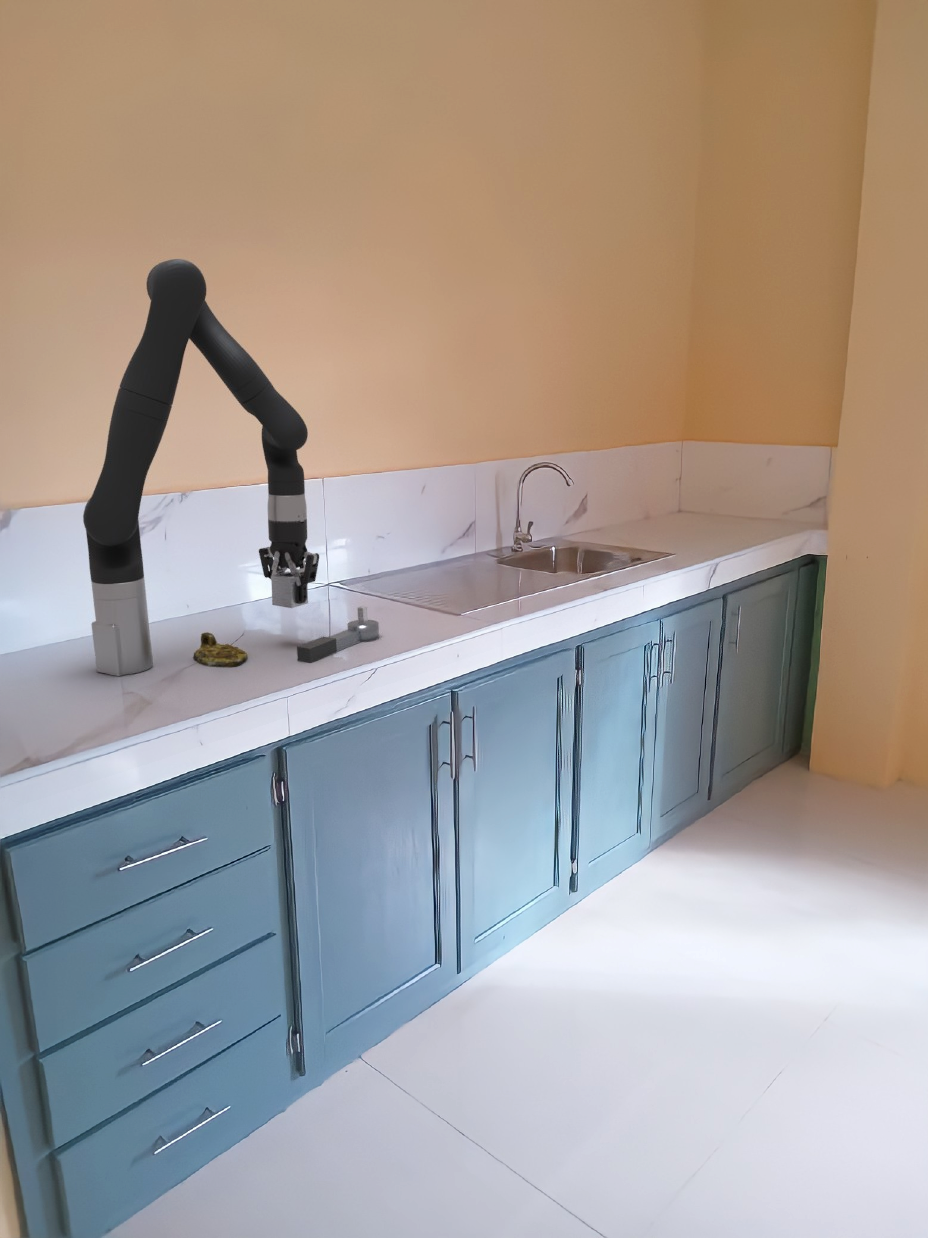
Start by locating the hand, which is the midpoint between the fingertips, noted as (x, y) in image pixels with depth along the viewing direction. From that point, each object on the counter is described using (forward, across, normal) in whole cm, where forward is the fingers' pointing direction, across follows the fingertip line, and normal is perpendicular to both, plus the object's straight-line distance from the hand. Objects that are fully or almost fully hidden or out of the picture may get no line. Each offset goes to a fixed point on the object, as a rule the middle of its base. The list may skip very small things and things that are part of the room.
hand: (290, 600), depth 189 cm
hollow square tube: (+1, 0, 0) cm, 1 cm away
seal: (+10, -7, -13) cm, 18 cm away
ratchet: (+9, +10, +3) cm, 14 cm away
